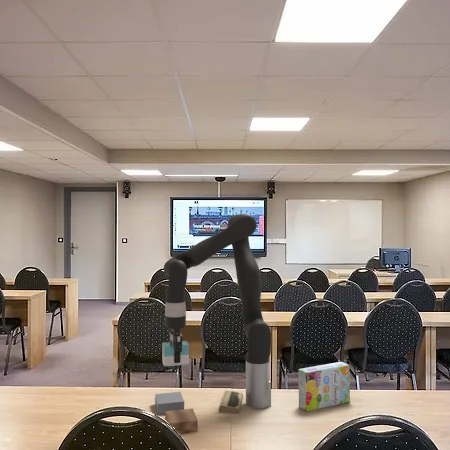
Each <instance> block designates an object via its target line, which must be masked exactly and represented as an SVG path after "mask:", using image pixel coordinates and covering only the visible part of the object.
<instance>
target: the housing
mask: <svg viewBox="0 0 450 450" xmlns="http://www.w3.org/2000/svg"><path fill="white" fill-rule="evenodd" d="M161 344H162V345H161V348H162V349H161V351H162V352H161V353H162V354H161V355H162V364H163V366H164V367H173V366H184V365H190V343H188V341H187V340H182V352H180V363H174V346H172V342H171V343H170V341H167V342H161ZM174 344H175V343H174ZM177 349H179V346H177Z"/></svg>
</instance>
